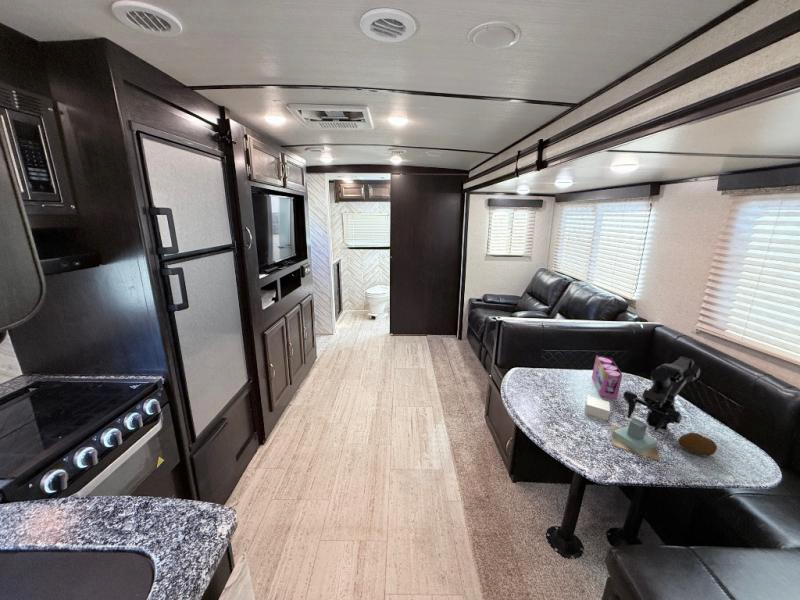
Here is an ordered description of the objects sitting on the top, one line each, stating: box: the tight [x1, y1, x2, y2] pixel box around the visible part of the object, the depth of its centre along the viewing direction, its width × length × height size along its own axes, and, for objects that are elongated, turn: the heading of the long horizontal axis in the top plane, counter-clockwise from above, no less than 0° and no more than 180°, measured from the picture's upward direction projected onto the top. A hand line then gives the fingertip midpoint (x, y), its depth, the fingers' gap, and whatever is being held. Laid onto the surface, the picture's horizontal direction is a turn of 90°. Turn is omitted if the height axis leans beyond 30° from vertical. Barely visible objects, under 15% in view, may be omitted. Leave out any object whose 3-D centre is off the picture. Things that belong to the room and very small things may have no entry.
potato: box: [677, 432, 718, 457], centre depth 121 cm, size 8×12×8 cm, turn 87°
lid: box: [612, 418, 659, 455], centre depth 125 cm, size 11×11×8 cm
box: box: [584, 395, 611, 421], centre depth 145 cm, size 9×9×4 cm
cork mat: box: [610, 424, 661, 462], centre depth 126 cm, size 15×15×1 cm
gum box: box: [591, 355, 623, 400], centre depth 166 cm, size 24×8×14 cm, turn 158°
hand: (641, 423), depth 126 cm, fingers open, 9 cm apart
